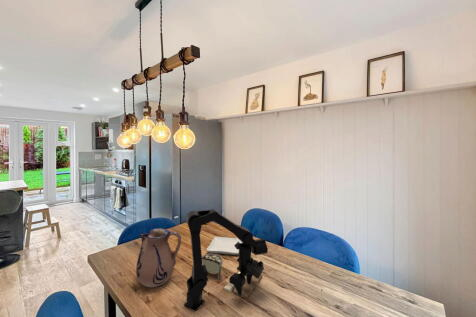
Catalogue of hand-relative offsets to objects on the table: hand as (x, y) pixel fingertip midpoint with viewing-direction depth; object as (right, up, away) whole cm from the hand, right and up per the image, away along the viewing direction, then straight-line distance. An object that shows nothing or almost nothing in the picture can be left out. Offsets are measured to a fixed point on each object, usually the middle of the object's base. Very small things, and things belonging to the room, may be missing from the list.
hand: (244, 289), depth 100 cm
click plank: (+2, -1, +6) cm, 6 cm away
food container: (-16, -1, +14) cm, 21 cm away
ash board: (-4, -1, +9) cm, 10 cm away
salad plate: (-11, 0, +45) cm, 46 cm away
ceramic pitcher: (-43, -1, +9) cm, 44 cm away
